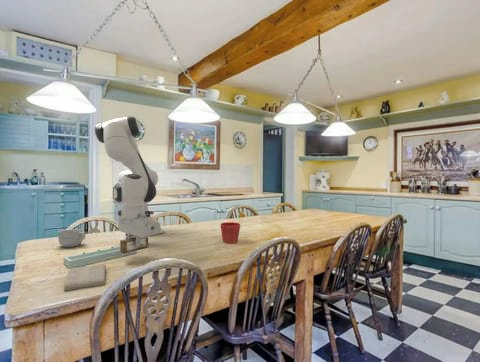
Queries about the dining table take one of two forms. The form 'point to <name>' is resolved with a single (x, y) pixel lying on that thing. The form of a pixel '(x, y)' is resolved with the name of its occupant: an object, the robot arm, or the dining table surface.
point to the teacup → (71, 237)
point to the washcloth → (85, 277)
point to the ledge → (94, 257)
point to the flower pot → (230, 232)
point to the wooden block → (132, 245)
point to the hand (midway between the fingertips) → (134, 244)
